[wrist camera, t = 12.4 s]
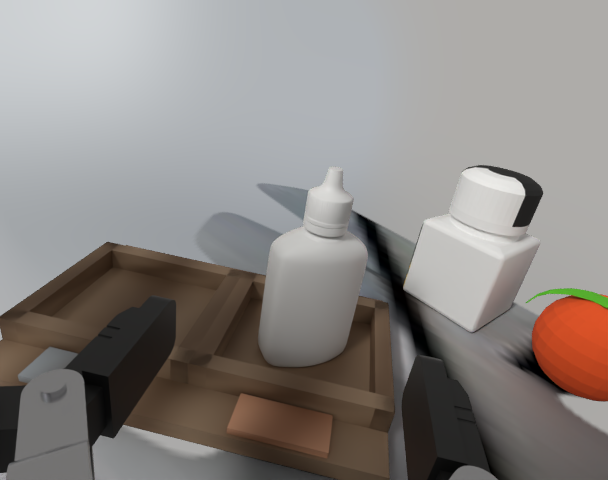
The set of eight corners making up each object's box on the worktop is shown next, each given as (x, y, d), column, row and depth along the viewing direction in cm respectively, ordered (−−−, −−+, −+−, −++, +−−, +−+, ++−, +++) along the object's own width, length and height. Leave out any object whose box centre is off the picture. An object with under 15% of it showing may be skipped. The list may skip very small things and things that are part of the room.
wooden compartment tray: (-35, 384, 21) (-46, 347, 20) (126, 255, 34) (125, 229, 33) (384, 491, 19) (397, 457, 18) (379, 311, 32) (387, 285, 31)
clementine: (491, 374, 28) (532, 289, 24) (511, 330, 33) (547, 255, 30) (627, 447, 24) (697, 357, 21) (625, 383, 29) (680, 304, 26)
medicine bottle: (443, 271, 40) (484, 157, 35) (510, 309, 36) (569, 183, 31) (400, 289, 36) (440, 161, 31) (471, 335, 31) (532, 193, 26)
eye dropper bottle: (265, 319, 28) (288, 149, 22) (344, 335, 27) (387, 167, 22) (250, 364, 24) (274, 170, 18) (343, 382, 23) (394, 192, 18)
